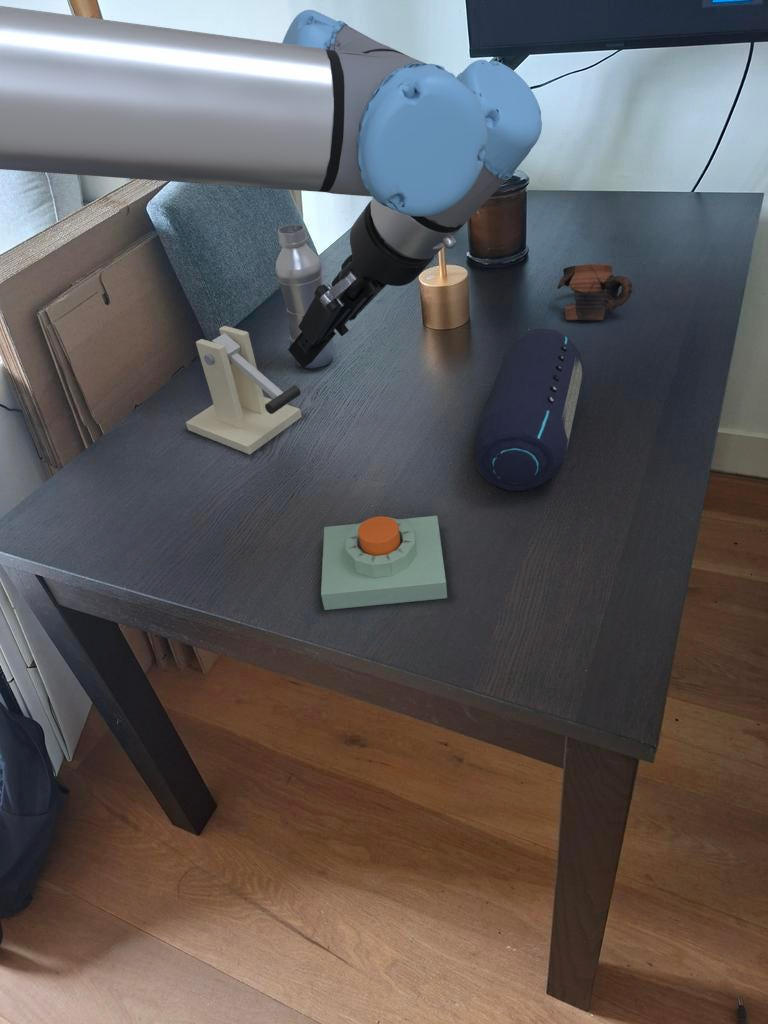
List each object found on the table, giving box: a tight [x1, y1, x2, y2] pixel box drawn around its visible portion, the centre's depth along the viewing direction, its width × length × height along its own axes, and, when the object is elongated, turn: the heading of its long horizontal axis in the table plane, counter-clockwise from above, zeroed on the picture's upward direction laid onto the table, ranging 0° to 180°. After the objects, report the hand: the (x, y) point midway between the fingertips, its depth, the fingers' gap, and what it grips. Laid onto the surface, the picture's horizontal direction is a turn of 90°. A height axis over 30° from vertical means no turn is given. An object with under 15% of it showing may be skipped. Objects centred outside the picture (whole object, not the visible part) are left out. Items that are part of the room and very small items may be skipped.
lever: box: [211, 333, 301, 414], centre depth 95 cm, size 12×5×2 cm, turn 52°
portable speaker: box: [474, 327, 585, 492], centre depth 89 cm, size 25×10×10 cm, turn 163°
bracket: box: [185, 325, 303, 455], centre depth 98 cm, size 12×10×13 cm
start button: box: [358, 516, 400, 556], centre depth 75 cm, size 4×4×2 cm
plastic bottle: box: [274, 223, 336, 369], centre depth 107 cm, size 6×7×20 cm
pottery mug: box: [557, 263, 634, 322], centre depth 115 cm, size 12×10×8 cm
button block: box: [320, 515, 448, 611], centre depth 76 cm, size 12×10×4 cm
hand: (299, 356), depth 87 cm, fingers closed
